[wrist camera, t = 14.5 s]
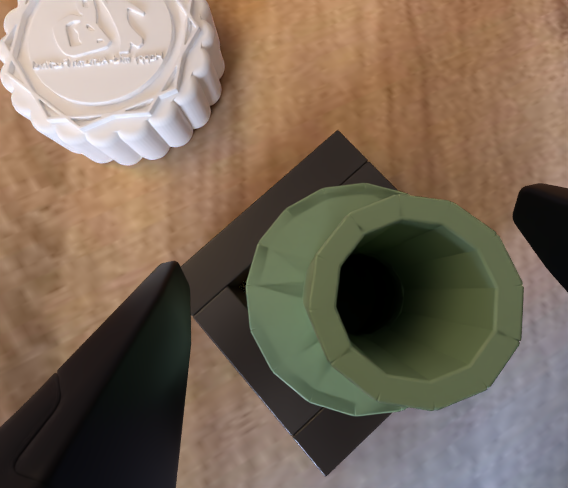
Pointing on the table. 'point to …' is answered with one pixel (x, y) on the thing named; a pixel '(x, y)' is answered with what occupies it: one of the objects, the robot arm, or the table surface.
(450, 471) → the table surface
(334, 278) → the vase
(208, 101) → the mooncake
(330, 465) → the holder
